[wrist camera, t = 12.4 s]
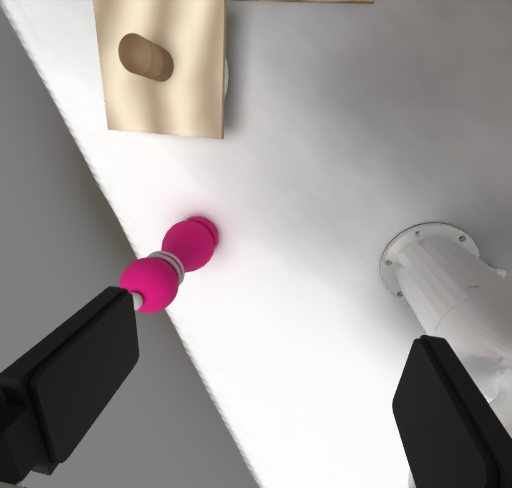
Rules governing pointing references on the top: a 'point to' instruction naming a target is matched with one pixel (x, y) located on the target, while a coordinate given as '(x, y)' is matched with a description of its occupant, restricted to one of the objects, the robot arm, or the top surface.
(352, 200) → the top surface
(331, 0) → the mat
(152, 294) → the pepper mill
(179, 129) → the lid
